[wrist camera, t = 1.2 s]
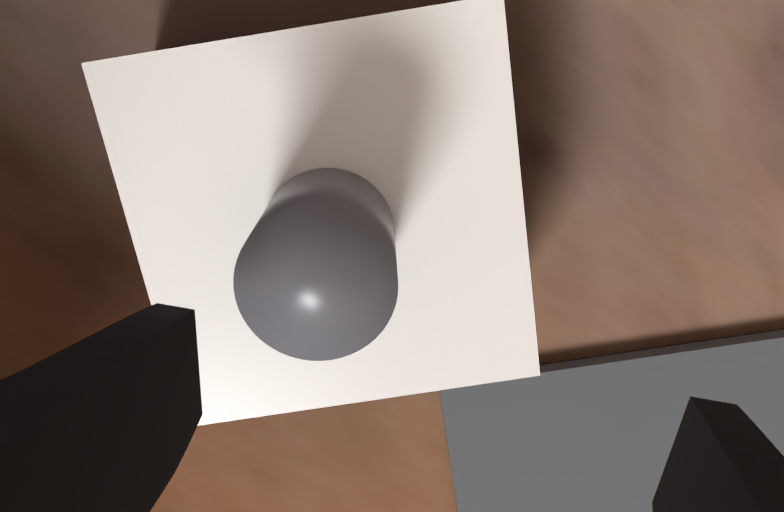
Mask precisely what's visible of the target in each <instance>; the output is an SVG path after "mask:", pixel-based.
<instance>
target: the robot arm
mask: <svg viewBox="0 0 784 512" xmlns="http://www.w3.org/2000/svg"><path fill="white" fill-rule="evenodd" d="M201 417H202V401H201V387H200V374H199V361H198V347H197V334H196V321H195V310H194V309H188V308H183V307H177V306H171V305H165V304H160V303H156V304H154V305H151V306H149V307H147V308H145V309H142V310H140V311H138V312H136V313H134V314H132V315H130V316H128V317H126V318H124V319H122V320H120V321H118V322H116V323H114V324H112V325H110V326H108V327H106V328H104V329H102V330H100V331H99V332H97V333H95V334H93V335H91V336H89V337H87V338H85V339H83V340H81V341H79V342H77V343H75V344H73V345H71V346H69V347H67V348H65V349H64V350H62V351H60V352H58V353H56V354H54V355H52V356H50V357H48V358H46V359H44V360H42V361H40V362H38V363H36V364H34V365H32V366H30V367H28V368H26V369H24V370H22V371H20V372H18V373H15V374H13V375H11V376H9V377H7V378H5V379H2V380H0V512H150V510H151V509H152V507H153V506H154V504H155V503H156V501H157V500H158V498H159V497H160V495H161V493H162V492H163V490H164V489H165V487H166V486H167V484H168V482H169V481H170V479H171V478H172V476H173V474H174V473H175V471H176V469H177V467H178V465H179V463H180V461H181V459H182V457H183V455H184V453H185V451H186V449H187V447H188V445H189V443H190V440H191V438H192V436H193V434H194V432H195V430H196V427H197V425H198V423H199V421H200V419H201ZM652 509H653V512H784V456H783V455H782V454H781V453H780V451H779V450H778V449H777V448H776V447H775V446H774V445H773V443H772V442H771V441H770V440H769V439H768V438H767V437H766V436H765V434H764V433H763V432H762V431H761V430H760V429H759V428H758V427H757V425H756V424H755V423H754V422H753V421H752V420H751V419H750V418H749V417H748V416H747V414H746V413H745V412H744V411H743V410H742V409H741V408H740V407H739V406H738V405H737V404H731V403H726V402H720V401H714V400H709V399H703V398H697V397H691V396H690V398H689V401H688V404H687V407H686V409H685V412H684V415H683V418H682V421H681V423H680V426H679V429H678V432H677V434H676V437H675V440H674V443H673V446H672V448H671V451H670V454H669V457H668V459H667V462H666V465H665V468H664V471H663V473H662V476H661V479H660V482H659V484H658V487H657V490H656V493H655V496H654V498H653V501H652Z"/></svg>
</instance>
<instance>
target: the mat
mask: <svg viewBox="0 0 784 512" xmlns="http://www.w3.org/2000/svg"><path fill="white" fill-rule="evenodd" d="M539 367H540V376H535V377H528V378H521V379H514V380H507V381H500V382H494V383H487V384H480V385H473V386H466V387H459V388H452V389H446V390H440V397H441V404H442V410H443V417H444V424H445V430H446V437H447V444H448V450H449V457H450V463H451V470H452V477H453V483H454V490H455V497H456V503H457V510H458V512H653V509H652V501H653V498H654V496H655V493H656V490H657V487H658V484H659V482H660V479H661V476H662V473H663V471H664V468H665V465H666V462H667V459H668V457H669V454H670V451H671V448H672V446H673V443H674V440H675V437H676V434H677V432H678V429H679V426H680V423H681V421H682V418H683V415H684V412H685V409H686V407H687V404H688V401H689V398H690V396H691V397H697V398H703V399H709V400H714V401H720V402H726V403H731V404H737V405H738V406H739V407H740V408H741V409H742V410H743V411H744V412H745V413H746V414H747V416H748V417H749V418H750V419H751V420H752V421H753V422H754V423H755V424H756V425H757V427H758V428H759V429H760V430H761V431H762V432H763V433H764V434H765V436H766V437H767V438H768V439H769V440H770V441H771V442H772V443H773V445H774V446H775V447H776V448H777V449H778V450H779V451H780V453H781V454H782V455H783V456H784V329H783V330H777V331H770V332H763V333H756V334H749V335H742V336H736V337H729V338H722V339H715V340H708V341H701V342H695V343H688V344H681V345H674V346H667V347H661V348H654V349H647V350H640V351H633V352H626V353H620V354H613V355H606V356H599V357H592V358H585V359H579V360H572V361H565V362H558V363H551V364H544V365H539Z"/></svg>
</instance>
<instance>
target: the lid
mask: <svg viewBox="0 0 784 512" xmlns="http://www.w3.org/2000/svg"><path fill="white" fill-rule="evenodd" d="M81 64H82V68H83V71H84V75H85V78H86V82H87V85H88V89H89V92H90V96H91V99H92V102H93V106H94V109H95V113H96V116H97V120H98V123H99V127H100V130H101V134H102V137H103V140H104V144H105V147H106V151H107V154H108V158H109V161H110V165H111V168H112V171H113V175H114V178H115V182H116V185H117V189H118V192H119V196H120V199H121V203H122V206H123V209H124V213H125V216H126V220H127V223H128V227H129V230H130V234H131V237H132V241H133V244H134V247H135V251H136V254H137V258H138V261H139V265H140V268H141V272H142V275H143V278H144V282H145V285H146V289H147V292H148V296H149V299H150V303H151V305H154V304H156V303H160V304H165V305H171V306H177V307H183V308H188V309H194V310H195V321H196V334H197V347H198V361H199V374H200V387H201V401H202V417H201V419H200V421H199V423H198V425H197V426H199V425H206V424H213V423H219V422H226V421H233V420H240V419H247V418H254V417H261V416H267V415H274V414H281V413H288V412H295V411H302V410H309V409H315V408H322V407H329V406H336V405H343V404H350V403H357V402H363V401H370V400H377V399H384V398H391V397H398V396H404V395H411V394H418V393H425V392H432V391H439V390H446V389H452V388H459V387H466V386H473V385H480V384H487V383H494V382H500V381H507V380H514V379H521V378H528V377H535V376H540V367H539V357H538V346H537V336H536V326H535V315H534V305H533V295H532V284H531V274H530V263H529V253H528V243H527V232H526V222H525V212H524V201H523V191H522V181H521V170H520V160H519V150H518V139H517V129H516V118H515V108H514V98H513V87H512V77H511V67H510V56H509V46H508V36H507V25H506V15H505V5H504V0H461V1H455V2H449V3H443V4H437V5H431V6H425V7H419V8H413V9H407V10H401V11H394V12H388V13H382V14H376V15H370V16H364V17H358V18H352V19H346V20H340V21H334V22H328V23H322V24H315V25H309V26H303V27H297V28H291V29H285V30H279V31H273V32H267V33H261V34H255V35H249V36H242V37H236V38H230V39H224V40H218V41H212V42H206V43H200V44H194V45H188V46H182V47H176V48H170V49H163V50H157V51H151V52H145V53H139V54H133V55H127V56H121V57H115V58H109V59H103V60H97V61H90V62H84V63H81Z"/></svg>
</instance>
